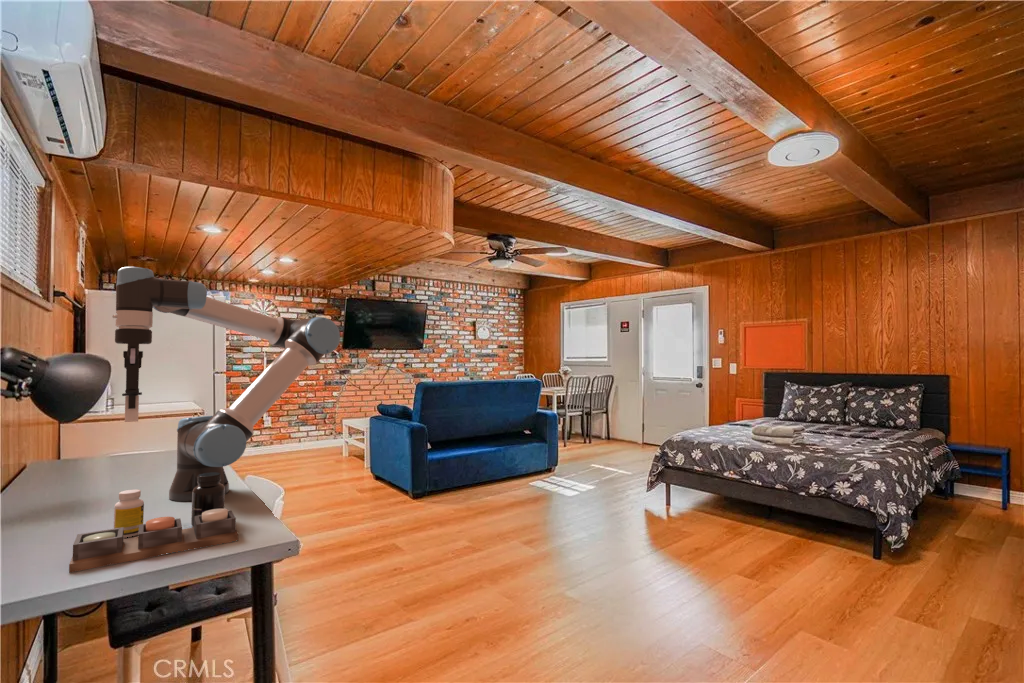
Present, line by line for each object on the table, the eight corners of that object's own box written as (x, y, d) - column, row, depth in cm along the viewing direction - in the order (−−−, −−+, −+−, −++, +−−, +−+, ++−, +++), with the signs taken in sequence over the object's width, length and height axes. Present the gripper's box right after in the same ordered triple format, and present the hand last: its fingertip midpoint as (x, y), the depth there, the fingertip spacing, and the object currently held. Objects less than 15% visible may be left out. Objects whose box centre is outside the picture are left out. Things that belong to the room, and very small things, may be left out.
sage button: (115, 542, 104) (116, 530, 104) (114, 549, 100) (114, 537, 100) (84, 547, 101) (84, 535, 101) (81, 555, 97) (81, 542, 97)
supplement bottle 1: (145, 534, 115) (147, 491, 115) (116, 540, 111) (117, 495, 111) (140, 529, 118) (141, 487, 119) (110, 535, 114) (112, 491, 115)
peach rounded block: (226, 517, 116) (226, 507, 116) (228, 523, 112) (229, 512, 112) (200, 521, 113) (201, 511, 113) (202, 527, 109) (202, 516, 109)
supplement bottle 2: (186, 529, 118) (188, 478, 118) (196, 521, 124) (197, 472, 125) (219, 527, 119) (220, 476, 120) (227, 518, 126) (228, 470, 127)
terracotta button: (173, 526, 110) (174, 515, 110) (174, 532, 106) (175, 520, 106) (145, 530, 107) (146, 519, 107) (145, 537, 103) (145, 525, 103)
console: (231, 527, 119) (231, 508, 119) (238, 540, 110) (238, 520, 110) (76, 554, 103) (76, 532, 103) (68, 572, 94) (69, 548, 94)
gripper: (116, 329, 131) (114, 420, 130) (113, 326, 120) (110, 425, 119) (152, 330, 135) (149, 418, 134) (152, 327, 125) (149, 422, 124)
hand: (131, 421), depth 127 cm, fingers closed
